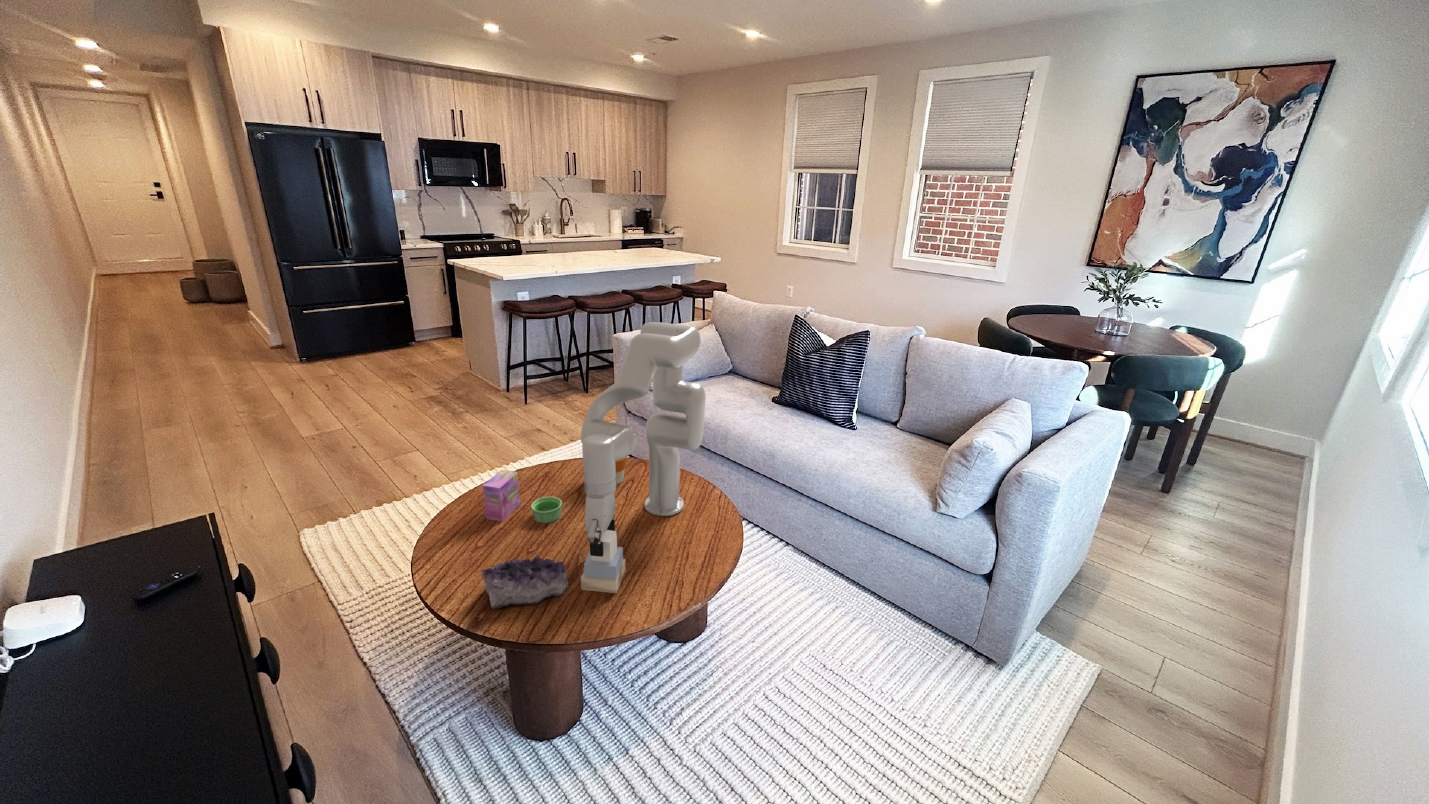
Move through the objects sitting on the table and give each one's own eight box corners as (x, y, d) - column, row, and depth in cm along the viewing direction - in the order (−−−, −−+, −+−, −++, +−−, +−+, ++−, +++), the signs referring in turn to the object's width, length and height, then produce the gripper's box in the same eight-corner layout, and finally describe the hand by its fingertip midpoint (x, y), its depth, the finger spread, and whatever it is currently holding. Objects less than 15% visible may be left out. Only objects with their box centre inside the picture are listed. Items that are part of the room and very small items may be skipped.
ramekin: (561, 506, 175) (560, 494, 173) (563, 522, 167) (562, 509, 166) (531, 510, 172) (530, 498, 171) (532, 526, 164) (531, 513, 163)
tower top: (592, 557, 145) (592, 545, 144) (622, 559, 145) (622, 547, 144) (584, 577, 138) (583, 564, 137) (616, 579, 138) (615, 566, 136)
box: (503, 522, 166) (499, 487, 162) (486, 519, 167) (481, 485, 163) (521, 504, 175) (518, 471, 171) (504, 502, 176) (501, 469, 172)
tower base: (592, 568, 148) (592, 555, 146) (625, 571, 147) (625, 559, 146) (581, 590, 139) (580, 577, 138) (616, 594, 139) (616, 581, 137)
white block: (598, 548, 143) (597, 528, 141) (617, 551, 142) (616, 531, 140) (591, 560, 138) (590, 540, 136) (610, 562, 138) (609, 542, 135)
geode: (567, 570, 146) (567, 542, 142) (569, 605, 136) (569, 575, 132) (484, 580, 140) (481, 550, 136) (480, 616, 131) (477, 586, 126)
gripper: (596, 466, 141) (599, 523, 148) (572, 501, 125) (576, 563, 132) (625, 468, 141) (626, 525, 147) (604, 504, 125) (607, 566, 131)
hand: (603, 543), depth 139 cm, fingers open, 9 cm apart
